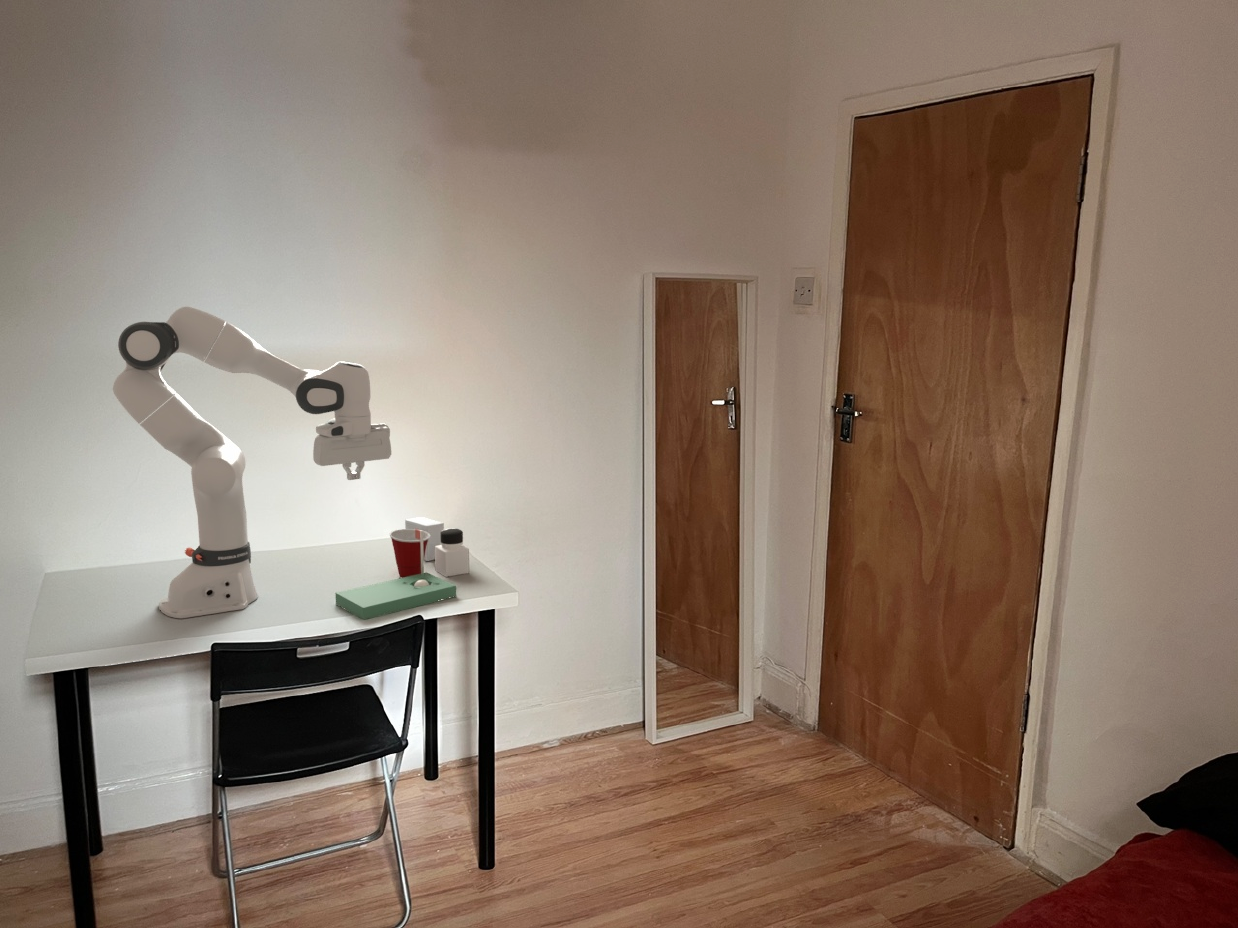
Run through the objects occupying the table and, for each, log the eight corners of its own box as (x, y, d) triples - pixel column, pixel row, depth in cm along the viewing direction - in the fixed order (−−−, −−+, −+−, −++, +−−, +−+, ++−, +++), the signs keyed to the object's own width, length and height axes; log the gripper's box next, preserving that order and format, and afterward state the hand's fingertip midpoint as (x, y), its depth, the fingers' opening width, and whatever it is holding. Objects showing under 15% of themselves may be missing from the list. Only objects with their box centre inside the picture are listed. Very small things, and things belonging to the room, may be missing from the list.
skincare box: (445, 557, 280) (444, 522, 278) (427, 561, 276) (426, 526, 274) (422, 549, 287) (422, 515, 285) (404, 554, 282) (404, 519, 280)
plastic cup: (421, 583, 256) (420, 540, 254) (383, 580, 258) (382, 537, 256) (437, 571, 267) (436, 529, 264) (400, 568, 269) (399, 526, 267)
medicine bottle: (469, 573, 266) (469, 531, 264) (445, 577, 262) (444, 534, 260) (458, 566, 272) (458, 525, 270) (434, 570, 268) (434, 528, 266)
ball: (416, 588, 244) (428, 578, 246) (408, 584, 247) (420, 574, 249) (423, 600, 246) (435, 590, 248) (414, 596, 249) (426, 586, 251)
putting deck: (363, 619, 230) (361, 558, 227) (332, 602, 241) (330, 544, 238) (456, 596, 247) (455, 540, 244) (423, 581, 258) (422, 527, 255)
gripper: (383, 421, 255) (384, 472, 257) (309, 427, 241) (311, 481, 244) (395, 424, 250) (396, 476, 253) (321, 430, 237) (322, 486, 239)
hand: (353, 479), depth 248 cm, fingers closed
